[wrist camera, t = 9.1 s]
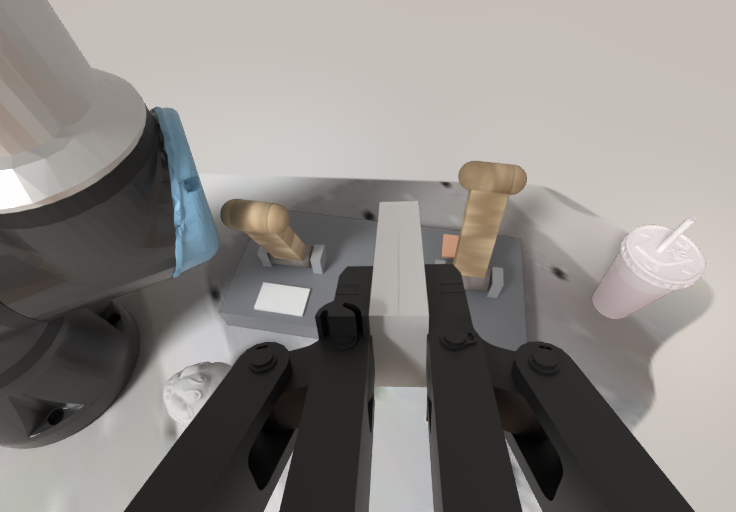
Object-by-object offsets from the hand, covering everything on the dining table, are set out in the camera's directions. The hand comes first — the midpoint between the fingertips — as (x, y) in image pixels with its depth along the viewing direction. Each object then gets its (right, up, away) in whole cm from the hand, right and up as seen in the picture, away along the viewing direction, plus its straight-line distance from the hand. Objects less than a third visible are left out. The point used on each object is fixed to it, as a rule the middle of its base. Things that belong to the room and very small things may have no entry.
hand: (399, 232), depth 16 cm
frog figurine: (-15, -15, +21) cm, 30 cm away
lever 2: (+8, -4, +24) cm, 25 cm away
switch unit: (0, -4, +28) cm, 28 cm away
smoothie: (+25, -6, +26) cm, 36 cm away
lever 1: (-9, -1, +26) cm, 28 cm away
